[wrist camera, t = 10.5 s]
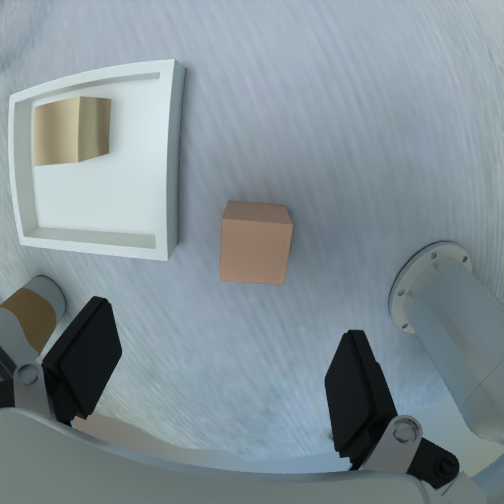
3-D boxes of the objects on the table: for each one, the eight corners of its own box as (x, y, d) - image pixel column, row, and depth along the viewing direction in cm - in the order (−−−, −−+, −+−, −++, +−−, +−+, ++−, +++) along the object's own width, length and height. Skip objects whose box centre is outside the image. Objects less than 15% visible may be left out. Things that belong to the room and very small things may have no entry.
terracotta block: (285, 205, 24) (293, 224, 19) (278, 256, 26) (283, 284, 21) (227, 200, 24) (222, 218, 19) (225, 252, 26) (219, 280, 21)
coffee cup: (20, 269, 27) (-46, 337, 13) (56, 264, 26) (-19, 346, 13) (44, 319, 30) (-7, 391, 17) (82, 320, 30) (29, 407, 16)
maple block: (111, 99, 18) (80, 95, 14) (108, 153, 21) (78, 162, 16) (68, 106, 18) (34, 106, 14) (67, 156, 20) (34, 166, 16)
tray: (185, 68, 18) (174, 59, 15) (177, 243, 25) (167, 260, 22) (31, 94, 18) (10, 95, 14) (38, 232, 25) (20, 244, 21)
